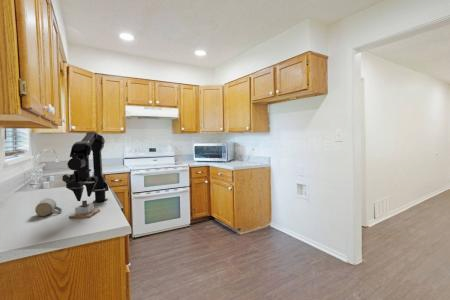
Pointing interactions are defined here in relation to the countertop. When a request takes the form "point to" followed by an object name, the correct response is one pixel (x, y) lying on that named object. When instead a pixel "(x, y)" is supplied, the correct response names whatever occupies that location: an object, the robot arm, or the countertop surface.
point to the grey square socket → (84, 209)
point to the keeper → (84, 204)
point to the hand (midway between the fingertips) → (84, 198)
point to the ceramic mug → (47, 207)
